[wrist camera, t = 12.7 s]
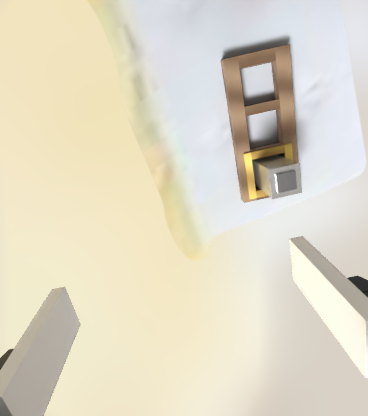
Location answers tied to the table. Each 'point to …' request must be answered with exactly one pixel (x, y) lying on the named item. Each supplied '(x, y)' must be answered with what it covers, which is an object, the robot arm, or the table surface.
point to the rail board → (239, 112)
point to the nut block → (277, 176)
